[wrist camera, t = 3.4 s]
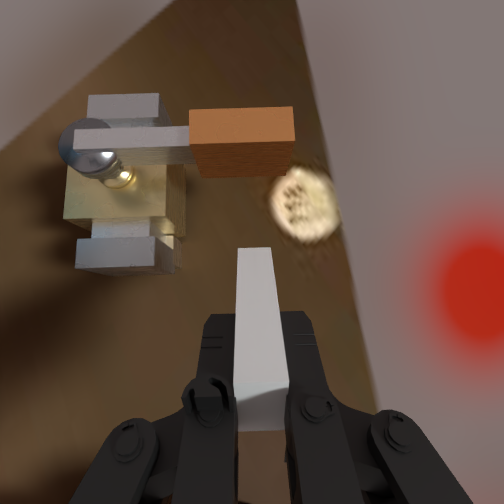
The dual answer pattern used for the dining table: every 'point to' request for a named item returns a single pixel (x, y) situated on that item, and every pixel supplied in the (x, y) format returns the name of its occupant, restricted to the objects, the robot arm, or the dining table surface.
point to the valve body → (129, 201)
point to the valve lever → (186, 144)
